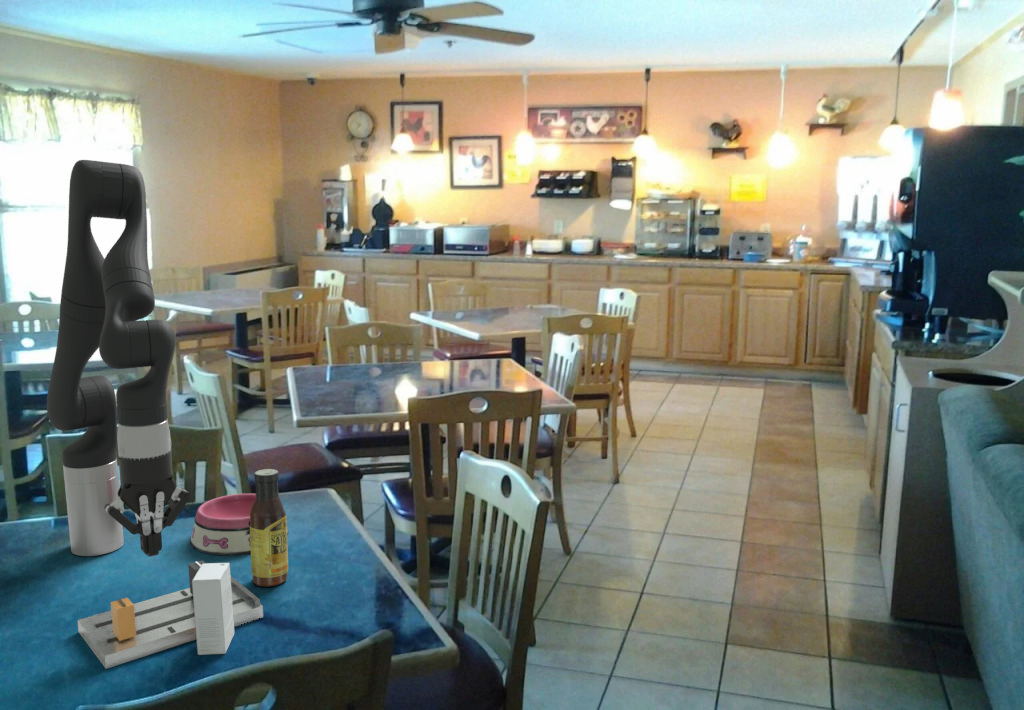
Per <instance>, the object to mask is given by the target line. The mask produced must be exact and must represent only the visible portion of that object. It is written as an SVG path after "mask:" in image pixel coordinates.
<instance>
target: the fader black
mask: <svg viewBox="0 0 1024 710" xmlns="http://www.w3.org/2000/svg"><path fill="white" fill-rule="evenodd" d="M202 564H207V562H205V561H204V560H199V561H194V562H191V563H188V564H187V567H188V578H189V588H190V593H191V594H192V595H193V587H192V580H193V579H194V577H195V575H196V574H197V572H198V570H199V568H200V567H201V565H202Z"/></svg>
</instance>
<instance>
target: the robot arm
mask: <svg viewBox="0 0 1024 710" xmlns="http://www.w3.org/2000/svg"><path fill="white" fill-rule="evenodd" d="M70 173H71V174H70V180H69V189H68V190H69V191H68V223H67V225H68V226H67V247H66V256H65V265H64V271H63V278H62V287H61V292H60V293H61V295H60V304H59V321H58V322H59V323H58V330H57V342H56V350H55V355H54V361H53V365H52V370H51V375H50V380H49V383H48V389H47V396H46V397H47V398H46V410H47V417H48V419H49V422H50V423H51V425H52V426H53V427H54V428H55V430H58V431H75V430H79V429H83V428H84V429H85V428H87V429H86V430H85V432H84V433H83V434H82V435H80V437H79V438H78V439H76V440H75V441H73V442H72V443H70V444H68V445H66V447H64V448H63V450H62V453H61V458H62V461H61V462H62V468H63V479H64V488H65V489H64V490H65V500H66V512H67V521H68V532H69V542H70V552H71V553H72V554H74V555H76V556H81V557H94V556H95V557H96V556H101V555H106V554H109V553H112V552H115V551H117V550H119V549H120V548H122V547H123V545H124V544H125V542H124V541H125V540H124V531H123V530H124V529H126V530H127V531H128V532H129V533H130V534H132V535H137V534H138V535H139V542H140V550H141V552H143V554H144V555H146V556H147V557H148V558H150V557H154V556H157V555H159V553H160V551H161V550H162V548H163V542H162V541H163V540H162V539H163V538H162V531H163V530H164V529H165V528H167V527H172V526H173V524H174V523H175V521H176V520H177V518H178V517H179V515H180V513H181V512H182V511H183V509H184V508H185V506H186V504H187V503H188V501H189V500H190V498H191V493H190V492H189V491H187V490H186V489H185V488H183V487H181V488H180V487H178V486H177V482H176V481H175V480H174V478H173V476H174V475H173V460H172V459H173V458H172V457H173V456H172V445H173V444H172V439H171V431H170V427H169V420H168V406H167V387H168V381H169V380H168V379H169V375H170V371H171V370H170V369H171V366H172V362H173V360H174V359H173V358H174V355H175V352H176V351H175V350H176V344H177V343H176V341H177V339H176V334H175V331H174V329H173V327H172V326H171V325H170V324H169V323H168V322H167V321H165V320H163V319H146V320H144V318H147V317H148V316H150V315H151V314H152V313H153V311H154V309H155V306H156V300H155V294H154V289H153V285H152V279H151V278H152V277H151V273H150V267H149V257H148V217H147V216H148V215H147V197H146V196H147V195H146V185H145V181H144V177H143V174H142V172H141V170H140V169H138V167H136V166H134V165H129V164H125V163H118V162H117V163H116V162H110V161H108V162H107V161H99V160H92V159H91V160H90V159H79V160H77V161H76V162H75V163H74V165H73V167H72V169H71V172H70ZM92 218H103V219H114V220H125V225H124V229H123V231H122V232H121V234H120V236H119V238H118V239H117V240H116V241H115V243H114V244H113V246H111V248H110V249H109V251H108V252H107V254H106V255H105V257H104V256H103V254H102V252H101V251H100V248H99V246H98V244H97V241H96V240H95V238H94V236H93V235H94V234H93V233H92V228H91V221H92ZM97 350H98V351H99V355H100V356H99V357H100V358H101V360H102V361H103V362H104V364H105V365H107V366H108V367H110V368H111V369H115V370H116V369H117V370H121V369H135V368H147V367H150V368H149V371H148V372H147V373H146V374H145V375H144V376H142V377H140V378H138V379H135V380H131V381H129V382H126V383H123V384H121V385H120V386H118V388H117V389H116V391H115V389H114V386H113V384H112V382H111V381H110V380H109V378H108V377H107V376H104V375H91V376H86V377H82V375H83V373H84V369H86V365H87V364H88V362H89V361H90V359H92V356H93V355H94V354H95V353H96V352H97ZM117 452H118V455H117ZM118 468H119V469H118ZM119 480H120V481H119ZM170 499H171V501H170ZM169 501H170V502H169ZM168 502H169V504H168ZM167 504H168V505H167ZM124 505H126V506H127V507H128V508H129V510H131V511H132V512H133V513H134V516H135V518H136V522H135V523H134V522H133V521H131V519H129V518H128V517H127V516H126V515H124V514H123V513H125V507H124ZM166 505H167V506H166ZM165 507H166V508H165ZM164 508H165V510H164Z"/></svg>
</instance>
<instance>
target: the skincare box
mask: <svg viewBox="0 0 1024 710" xmlns="http://www.w3.org/2000/svg"><path fill="white" fill-rule="evenodd" d="M206 563H207V562H206ZM231 576H232V575H231V565H230V562H214V563H213V562H210V563H207V564H202V565H201V567H200V568H199V570H198V572H197V574H196V575H195V577H194V579H193V580H192V587H193V600H194V613H195V626H196V650H197V655H198V656H204V655H224V654H226V653H227V650H228V648H229V646H230V644H231V642H232V640H233V638H234V635H235V627H234V619H233V606H232V591H231Z"/></svg>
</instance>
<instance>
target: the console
mask: <svg viewBox="0 0 1024 710" xmlns="http://www.w3.org/2000/svg"><path fill="white" fill-rule="evenodd" d="M230 576H231V591H232V606H233V619H234V628H235V627H238V626H241V624H242V625H244V623H245V624H247V622H248V623H250V622H254V621H256V620H257V621H258V620H260V619H263V618H264V606H263V605H262V604H261V600H260V598H259V597H257V596H256V595H255V594H254V593H253V592H252V591H250V590H249V589H248V588H246V587H245V586H244V585H243V584H242V583H240V582H239V581H238V580H237V579H235V578H234V577H233V576H232V575H230ZM133 604H134V613H135V625H136V636H134V637H131V638H128V639H125V640H121V641H119V640H118V639H117V637H116V636H115V635H114V634H113V625H112V613H111V610H108V611H105V612H101V613H97V614H93V615H92V616H91V615H90V616H87V617H84V618H80V619H78V620H77V628H78V629H77V630H78V633H79V634H80V636H81V638H82V639H83V640H84V641H85V643H86V644H87V645H88V647H89V649H90V650H91V651H92V652H93V654H94V655H95V656H96V658H97V659H98V660H99V662H100V663H101V665H103V667H104V668H105V669H106V670H107V669H110V668H112V667H116V666H119V665H122V664H125V663H128V662H131V661H132V662H133V661H134V660H138V659H140V658H144V657H147V656H149V655H150V656H151V655H153V654H155V653H158V652H161V651H165V650H167V649H171V648H174V647H177V646H180V645H182V644H185V643H189V642H192V641H195V640H196V641H197V639H196V626H195V613H194V600H193V595H192V594H191V593H190V587H188V588H185V589H181V590H176V591H174V592H173V591H172V592H171V593H167V594H164V595H160V596H157V597H152V598H150V599H146V600H143V601H140V602H136V603H133ZM259 618H260V619H259ZM253 620H254V621H253Z"/></svg>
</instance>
